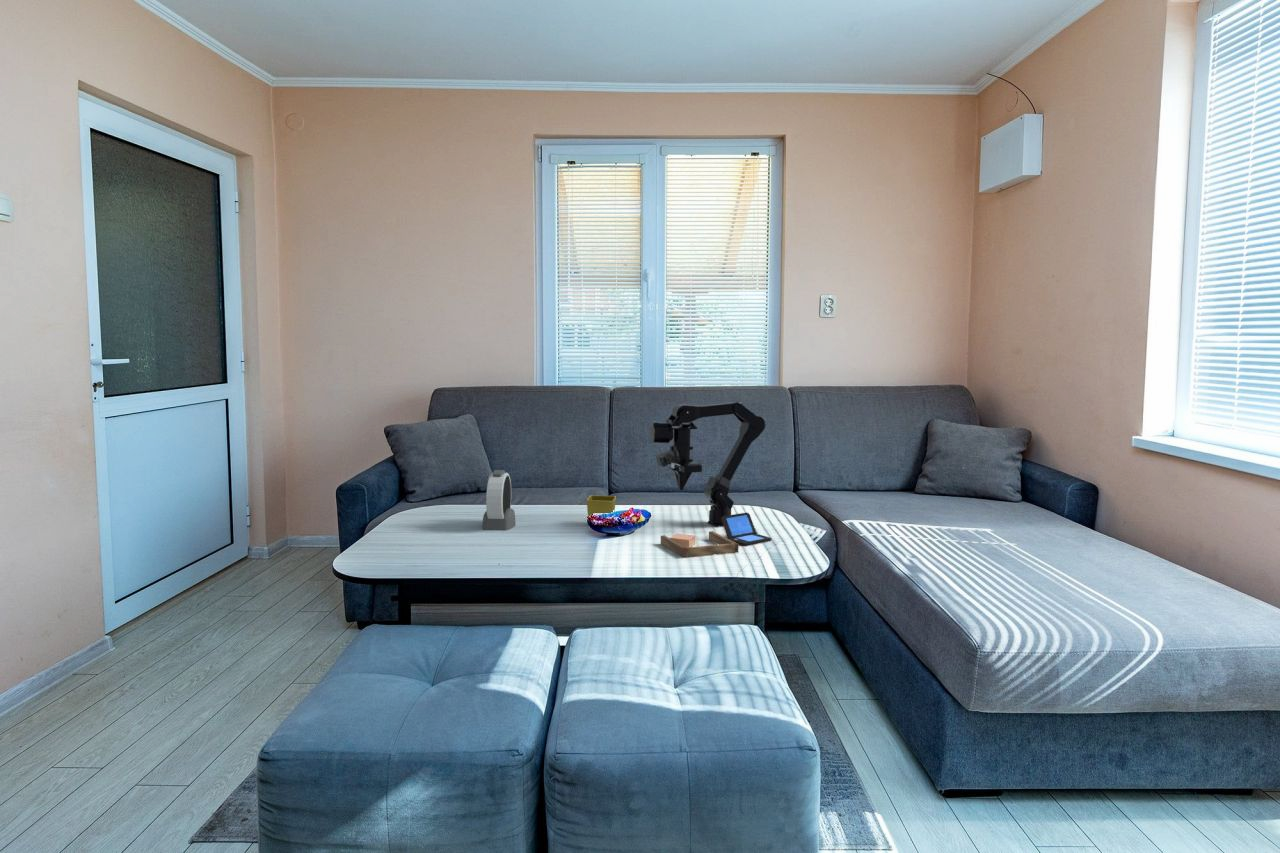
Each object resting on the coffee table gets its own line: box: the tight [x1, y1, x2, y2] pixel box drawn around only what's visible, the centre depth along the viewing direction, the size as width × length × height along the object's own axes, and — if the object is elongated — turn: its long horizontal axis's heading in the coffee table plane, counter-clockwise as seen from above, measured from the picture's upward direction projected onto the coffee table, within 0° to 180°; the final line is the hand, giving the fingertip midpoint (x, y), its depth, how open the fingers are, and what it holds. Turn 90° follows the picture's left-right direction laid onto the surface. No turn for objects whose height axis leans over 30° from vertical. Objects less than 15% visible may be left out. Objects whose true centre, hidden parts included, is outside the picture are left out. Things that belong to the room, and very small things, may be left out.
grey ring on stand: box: [482, 469, 516, 531], centre depth 253 cm, size 16×10×18 cm, turn 179°
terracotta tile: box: [669, 533, 696, 548], centre depth 232 cm, size 6×6×3 cm
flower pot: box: [586, 494, 617, 518], centre depth 257 cm, size 9×9×9 cm
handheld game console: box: [721, 512, 772, 547], centre depth 240 cm, size 12×11×7 cm
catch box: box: [660, 530, 740, 559], centre depth 230 cm, size 17×16×2 cm
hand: (680, 490), depth 257 cm, fingers closed
